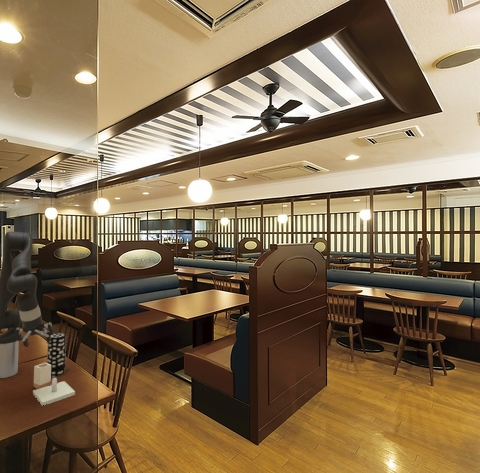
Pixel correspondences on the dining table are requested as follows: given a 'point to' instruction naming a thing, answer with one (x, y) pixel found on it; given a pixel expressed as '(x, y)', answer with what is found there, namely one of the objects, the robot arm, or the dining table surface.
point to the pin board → (53, 392)
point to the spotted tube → (57, 354)
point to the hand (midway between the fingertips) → (38, 343)
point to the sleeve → (42, 375)
